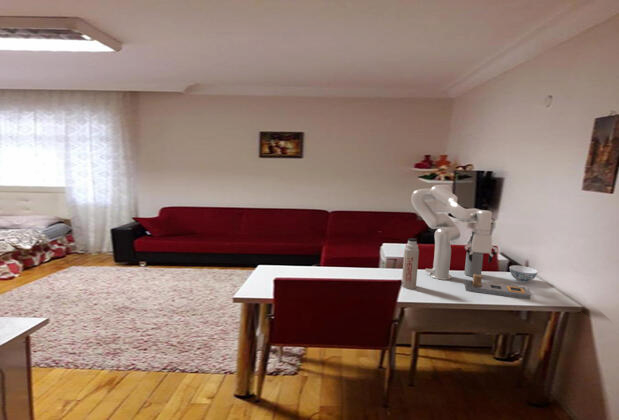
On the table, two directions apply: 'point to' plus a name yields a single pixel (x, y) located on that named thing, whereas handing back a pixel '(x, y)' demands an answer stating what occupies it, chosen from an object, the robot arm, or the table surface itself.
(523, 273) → the chinaware
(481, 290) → the gray peg board
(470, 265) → the water bottle
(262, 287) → the table surface
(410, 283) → the thermos bottle
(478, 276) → the peg
